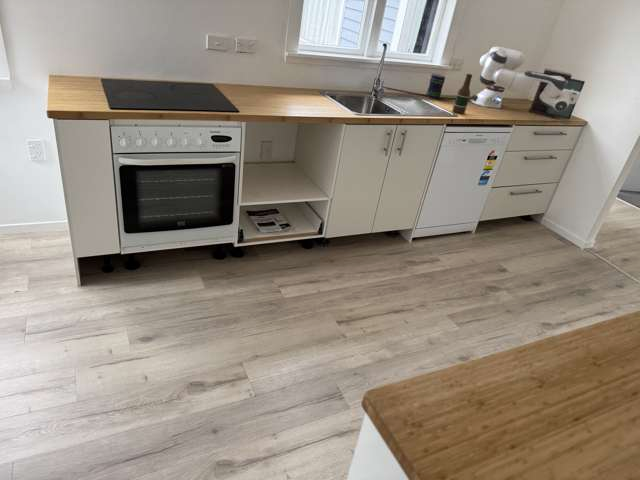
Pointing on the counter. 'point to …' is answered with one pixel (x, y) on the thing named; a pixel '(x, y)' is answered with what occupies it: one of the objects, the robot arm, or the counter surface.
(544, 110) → the display cabinet
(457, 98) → the beer bottle
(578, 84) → the glass door
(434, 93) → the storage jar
